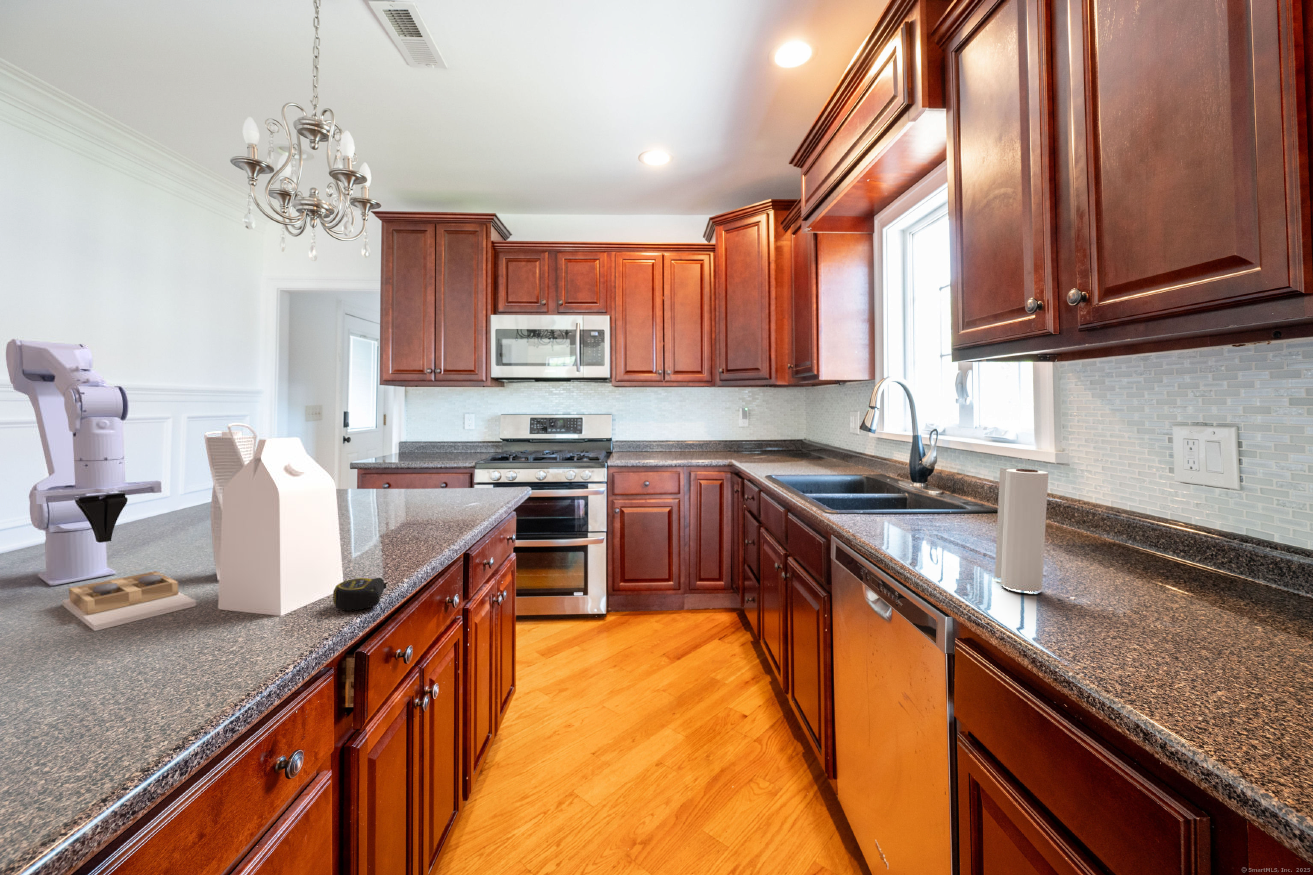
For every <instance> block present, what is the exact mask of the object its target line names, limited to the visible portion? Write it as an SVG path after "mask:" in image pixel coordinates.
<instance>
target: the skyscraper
mask: <svg viewBox="0 0 1313 875" xmlns="http://www.w3.org/2000/svg"><path fill="white" fill-rule="evenodd" d="M235 426H236V427H243V428H247V429H248V430H249V431H251V433H252V434H253V435H243V434H242V431H241V430H232V428H231V427H235ZM226 427H227V430H225V431H224V430H223V431H222V430H221V431H220V430H219V431H208V432H205V433H204V434H203V435H204V436H203V437H204V442H205V443H204V444H205V448H206V454H207V460H208V465H209V470H210V474H211V478H212V481H213V482H212V483H213V487H212V493H211V504H210V505H211V506H210V525H211V526H210V528H211V541H212V550H213V559H214V565H215V573H216V580H217V583H219V576H220V552H221V527H222V503H223V491H224V489H225V486H226V485H227V483H228V482H229V481H230V480H231V479H232V478H233V477H234V476H235V475H236V474H237V473H238V472H239V471H240V470H241V469H242V468H243V467H244V466H245V465H246V464H247V463H248V462H249V461H250V460H251V459H253V458H254V454H255V451H256V448H257V437H258V436H257V433H256V431H255V430H254V429H253V428H252V427H251V426H249V425H248V424H246V423H240V422H233V423H229V424H227V426H226ZM209 435H211V436H209ZM212 435H215V436H212Z"/></svg>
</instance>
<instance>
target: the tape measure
mask: <svg viewBox="0 0 1313 875" xmlns="http://www.w3.org/2000/svg"><path fill="white" fill-rule="evenodd" d="M387 584H388V583H387V582H385V580H384V579H383V578H382V577H376V578H366V577H363V578H362V577H360V578H359V577H358V578H353V579H352V578H351V579H348V580H345V581H344V580H343V582H341V583H340V584H338V585H337V586H336V587H335V589H334V592H333V594H332V602H333V604H334V606H335V608H336V609H338V610H341V611H357V610H358V611H359V610H362V609H367V608H372V607H375V606H377V605H378V604H379V603H380V601H381V600H380V599H381V597H382V595H383V593H384V590H385V589H387Z"/></svg>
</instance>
